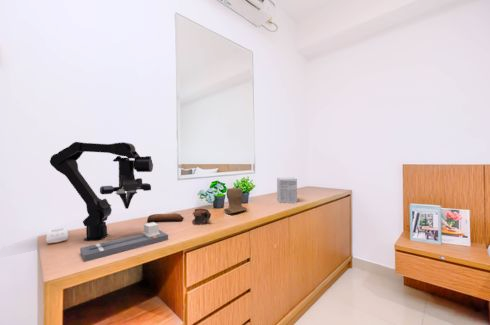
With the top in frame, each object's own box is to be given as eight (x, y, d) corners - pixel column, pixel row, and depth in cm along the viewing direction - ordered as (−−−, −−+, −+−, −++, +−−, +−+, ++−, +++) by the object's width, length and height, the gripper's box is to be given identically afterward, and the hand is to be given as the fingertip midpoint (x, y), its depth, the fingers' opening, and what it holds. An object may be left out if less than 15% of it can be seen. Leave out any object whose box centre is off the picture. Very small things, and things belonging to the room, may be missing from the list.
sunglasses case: (185, 217, 126) (183, 208, 123) (183, 226, 120) (181, 218, 117) (152, 218, 126) (150, 209, 122) (148, 228, 120) (146, 219, 116)
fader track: (84, 261, 72) (84, 255, 72) (80, 253, 79) (80, 247, 79) (168, 239, 92) (168, 234, 92) (159, 234, 98) (159, 229, 98)
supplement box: (297, 202, 164) (297, 178, 164) (279, 203, 164) (279, 179, 164) (293, 199, 177) (293, 177, 177) (277, 199, 177) (276, 177, 177)
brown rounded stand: (236, 208, 148) (235, 185, 147) (249, 211, 140) (249, 187, 139) (218, 212, 136) (218, 188, 136) (232, 216, 128) (231, 189, 128)
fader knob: (148, 237, 88) (148, 227, 87) (142, 233, 92) (142, 223, 92) (159, 235, 91) (159, 224, 90) (153, 231, 95) (153, 221, 95)
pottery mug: (186, 224, 114) (189, 209, 118) (200, 228, 121) (202, 213, 125) (203, 221, 108) (205, 205, 112) (217, 226, 114) (218, 210, 118)
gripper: (104, 174, 84) (104, 215, 84) (155, 172, 96) (155, 208, 96) (99, 172, 92) (99, 210, 93) (146, 171, 105) (147, 204, 105)
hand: (126, 208), depth 96 cm, fingers closed
